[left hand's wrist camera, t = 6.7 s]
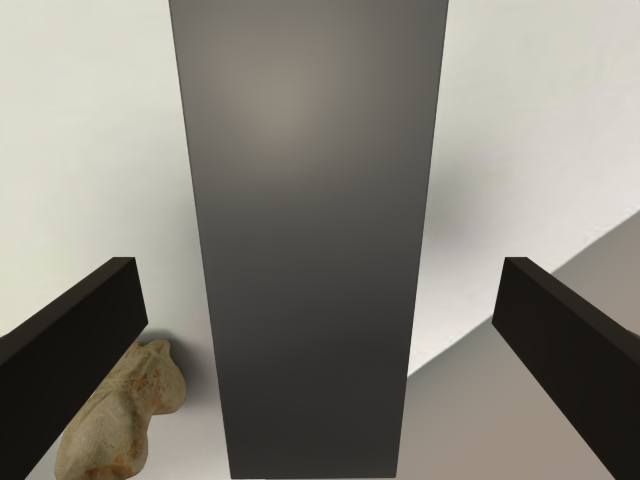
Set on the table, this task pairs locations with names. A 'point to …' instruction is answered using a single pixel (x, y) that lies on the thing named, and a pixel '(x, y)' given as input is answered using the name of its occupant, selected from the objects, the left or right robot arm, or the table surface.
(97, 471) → the sculpture
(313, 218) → the bar
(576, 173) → the table surface
